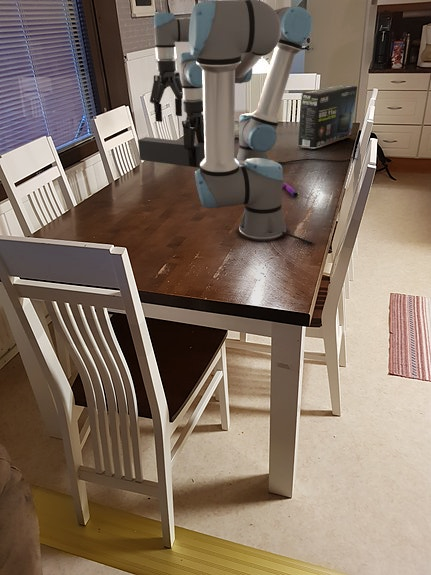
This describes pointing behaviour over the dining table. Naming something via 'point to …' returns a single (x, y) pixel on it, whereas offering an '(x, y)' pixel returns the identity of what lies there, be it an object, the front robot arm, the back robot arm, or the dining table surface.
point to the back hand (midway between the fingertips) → (169, 118)
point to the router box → (326, 115)
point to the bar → (168, 151)
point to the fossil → (236, 130)
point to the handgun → (289, 189)
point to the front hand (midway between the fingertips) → (197, 164)
